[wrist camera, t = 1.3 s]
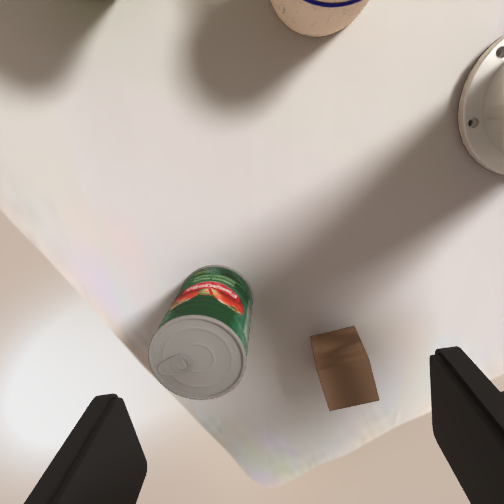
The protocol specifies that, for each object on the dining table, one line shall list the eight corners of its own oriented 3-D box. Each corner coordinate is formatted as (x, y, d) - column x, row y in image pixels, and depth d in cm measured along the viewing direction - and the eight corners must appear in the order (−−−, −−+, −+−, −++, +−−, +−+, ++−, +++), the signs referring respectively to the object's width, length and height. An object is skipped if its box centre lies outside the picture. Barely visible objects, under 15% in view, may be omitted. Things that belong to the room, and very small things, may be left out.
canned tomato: (236, 254, 36) (223, 303, 26) (263, 317, 38) (261, 385, 28) (168, 278, 38) (130, 334, 27) (198, 338, 40) (173, 410, 29)
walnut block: (354, 325, 38) (368, 358, 33) (363, 362, 40) (379, 400, 34) (310, 336, 39) (317, 371, 33) (321, 372, 41) (329, 411, 35)
